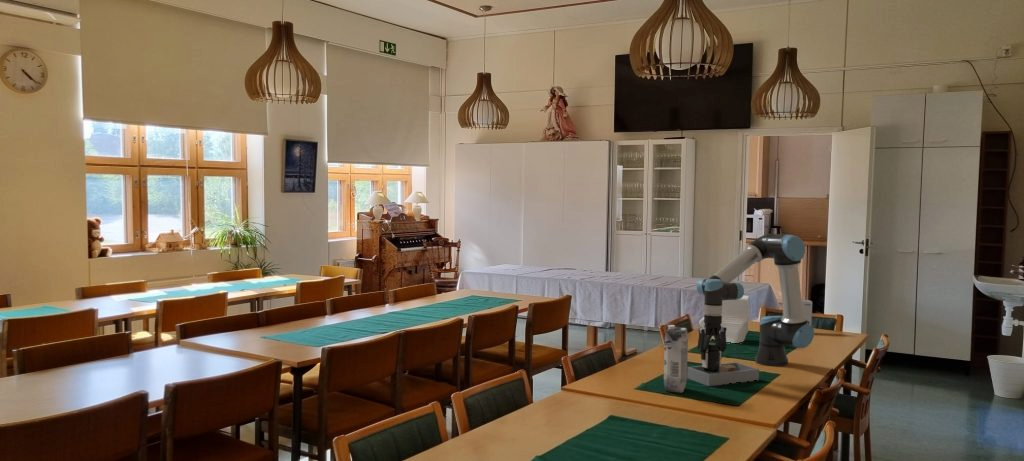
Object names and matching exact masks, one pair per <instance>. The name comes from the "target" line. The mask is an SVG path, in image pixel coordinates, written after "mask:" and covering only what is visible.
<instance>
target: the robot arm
mask: <svg viewBox="0 0 1024 461" xmlns="http://www.w3.org/2000/svg"><path fill="white" fill-rule="evenodd" d="M805 254H806V245H805V242H804V241H803V239H802V238H800V237H799V236H797V235H793V234H781V233H766V234H764V235H762V236H759V237H758V238H755V239H754V240H753V241H751V242H750V243H748V244H747V245H746V246H745V248H744V250H743V251H741V252H740V253H739V254H738V255H737V256H736V257H733V259H732V260H731V261H729V262H728V263H727V264H725V265H724V266H722V268H720V269H719V270H718V271H716V272H715V273H714V274H712V275H711V276H710V277H709V278H701V279H700V280H699V281H697V283H696V292H698V294H700V295H701V296H704V306H703V307H704V311H703V313H704V315H703V317H704V323H705V326H704V328H702V327H701V328H698V341H697V351H698V352H700V360H701V366H702V367H705V368H707V366H708V353H706V351H707V348H708V345H709V343H711V342H710V341H711V339H712V336H714V338H715V340H714V342H715V344H718V349H717V350H718V351H719V352H720V366H721V364H722V359H723V353H724V352H725V350H727V343H726V329H727V328H725V327H721V323H722V316H721V314H722V300H737V299H740V298H742V297H743V295H744V294H745V288H744V286H743V285H742V284H741V283H740V282H733V281H734V280H735V279H736V278H738V277H739V276H741V275H742V274H743V273H744V272H745V271H747V270H748V269H750V267H752V266H753V265H754V264H755V263H760V262H761V261H763V260H765V259H773V261H774V265H775V266H776V267H777V268H778V276H779V283H780V285H779V286H780V293H781V301H782V313H783V312H784V316H783V315H768V316H762V317H761V318H760V322H759V323H760V324H759V345H758V346H759V347H758V349H757V353H756V355H755V358H754V359H755V363H757V364H760V365H764V366H770V367H772V366H773V367H783V366H787V365H788V364H789V359H788V355H787V351H786V346H789V347H793V348H799V349H805V348H807V347H809V346H810V345H811V343H812V341H814V337H815V330H814V327H813V326H812V324H811V325H809V324H808V322H807V317H805V316H804V315H803V308H802V300H803V299H802V292H801V282H800V275H799V274H800V272H799V265H800V264H801V263H802V259H804V257H805ZM719 331H720V333H719Z"/></svg>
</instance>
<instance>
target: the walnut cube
mask: <svg viewBox="0 0 1024 461" xmlns="http://www.w3.org/2000/svg"><path fill="white" fill-rule="evenodd" d="M733 371H737V367H735V366H731V365H723V366H720V373H724V372H733Z"/></svg>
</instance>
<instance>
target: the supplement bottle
mask: <svg viewBox="0 0 1024 461" xmlns="http://www.w3.org/2000/svg"><path fill="white" fill-rule="evenodd" d="M706 353H708V366H707V368H705V367H704V371H706V372H719V368H720V352H719V351H718V344H716V342H715V343H714V342H709V345H708V348H707V351H706Z"/></svg>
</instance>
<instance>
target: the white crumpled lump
mask: <svg viewBox="0 0 1024 461" xmlns="http://www.w3.org/2000/svg"><path fill="white" fill-rule="evenodd" d="M749 299H750V296H749V295H743V297H742V298H740V299H737V300H722V314H721V316H722V323H721V327H725V328H727V329H726V342H731V343H739V342H743V341H745V339H746V336H747V333H748V332H749V331H750V330H749V321H750V317H751V308H750V302H749ZM698 324H699V326H700V327H701V329H702V328H704V326H705V323H704V316H703V317H702V318H701V319H700V320H699V321H698ZM719 333H720V331H719ZM711 339H713V340H714V341H715V338H714V336H712V338H711ZM743 343H744V342H743Z"/></svg>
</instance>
